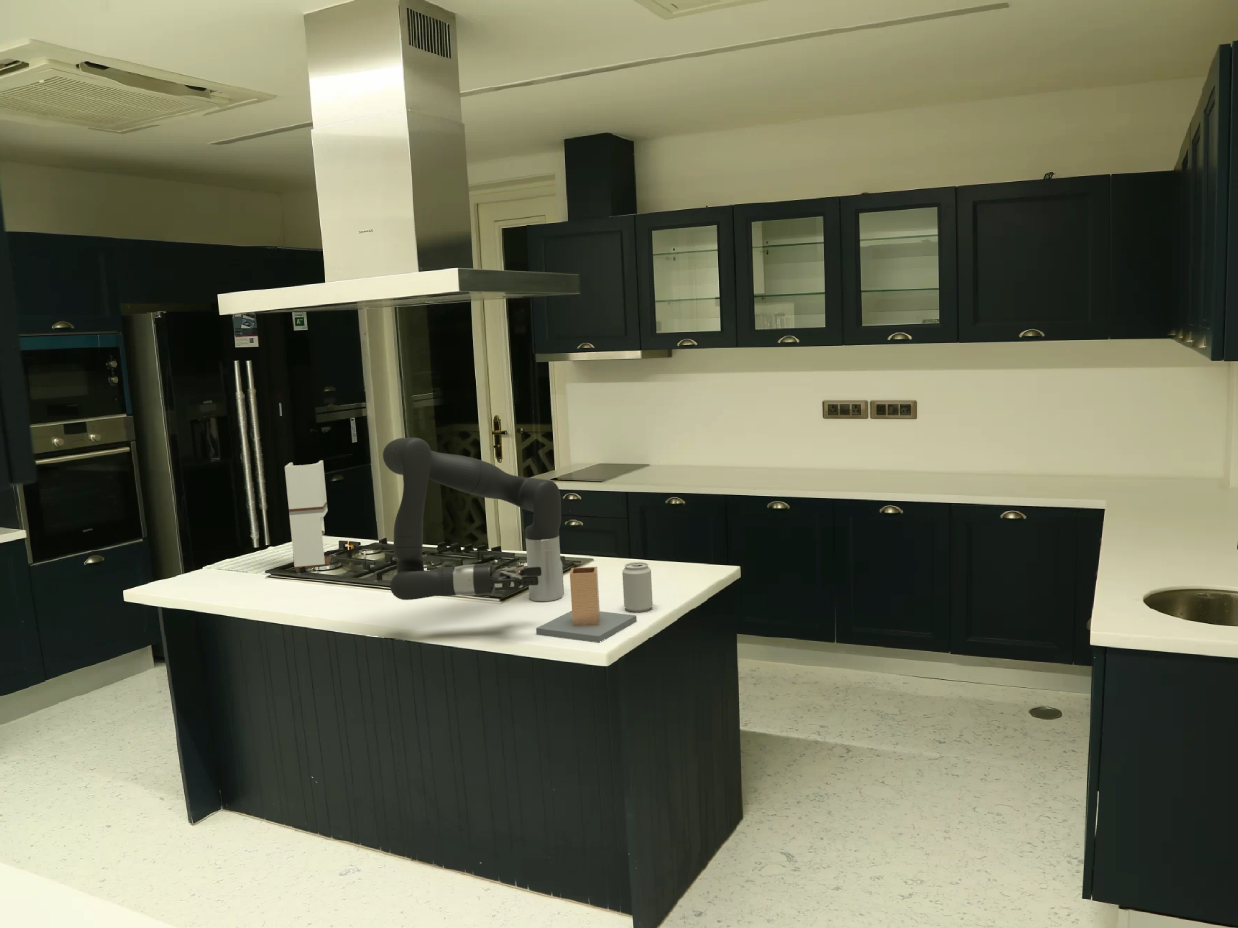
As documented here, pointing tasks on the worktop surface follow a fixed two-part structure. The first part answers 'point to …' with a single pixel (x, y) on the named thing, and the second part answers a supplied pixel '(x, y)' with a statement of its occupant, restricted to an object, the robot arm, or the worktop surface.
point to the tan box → (585, 596)
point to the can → (637, 587)
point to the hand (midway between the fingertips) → (539, 575)
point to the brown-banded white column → (307, 513)
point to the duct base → (587, 627)
